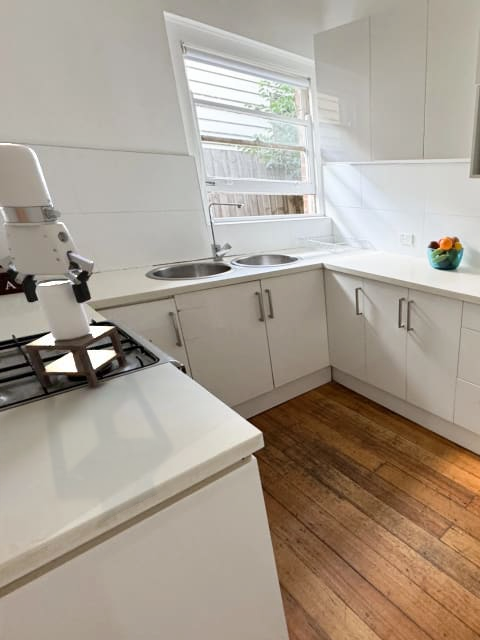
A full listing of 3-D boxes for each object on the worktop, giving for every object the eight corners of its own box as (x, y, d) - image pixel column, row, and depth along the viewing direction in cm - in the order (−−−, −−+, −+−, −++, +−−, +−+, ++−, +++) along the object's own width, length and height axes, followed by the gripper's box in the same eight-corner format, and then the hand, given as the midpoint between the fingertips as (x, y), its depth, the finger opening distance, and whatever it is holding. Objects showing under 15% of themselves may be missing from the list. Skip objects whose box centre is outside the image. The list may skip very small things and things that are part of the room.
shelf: (41, 387, 82) (24, 345, 78) (80, 364, 92) (66, 325, 88) (95, 387, 83) (80, 345, 79) (127, 364, 93) (115, 326, 89)
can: (75, 328, 87) (57, 276, 82) (99, 331, 86) (82, 279, 81) (44, 339, 81) (23, 284, 76) (69, 342, 80) (49, 286, 75)
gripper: (91, 215, 77) (115, 296, 84) (0, 212, 76) (32, 295, 83) (62, 219, 70) (90, 307, 77) (-38, 216, 69) (0, 306, 76)
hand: (60, 300), depth 80 cm, fingers open, 9 cm apart
